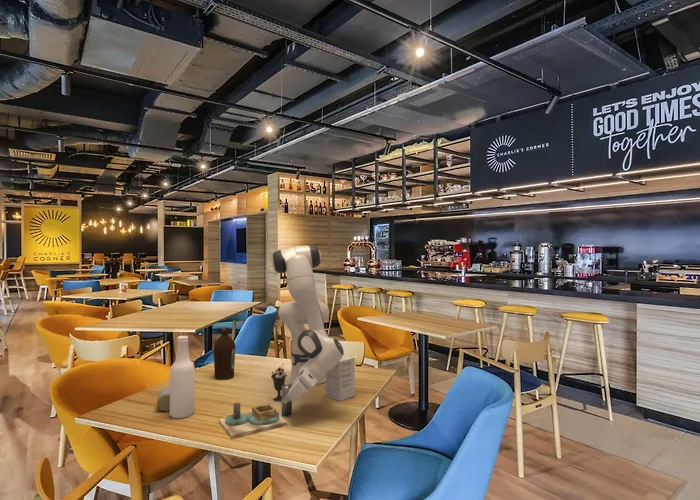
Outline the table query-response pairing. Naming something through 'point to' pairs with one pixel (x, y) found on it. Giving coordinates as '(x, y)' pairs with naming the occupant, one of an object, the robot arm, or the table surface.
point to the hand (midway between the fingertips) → (285, 399)
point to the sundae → (279, 382)
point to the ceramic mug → (164, 399)
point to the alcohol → (182, 382)
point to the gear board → (251, 421)
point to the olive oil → (224, 356)
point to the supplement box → (341, 380)
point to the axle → (288, 406)
